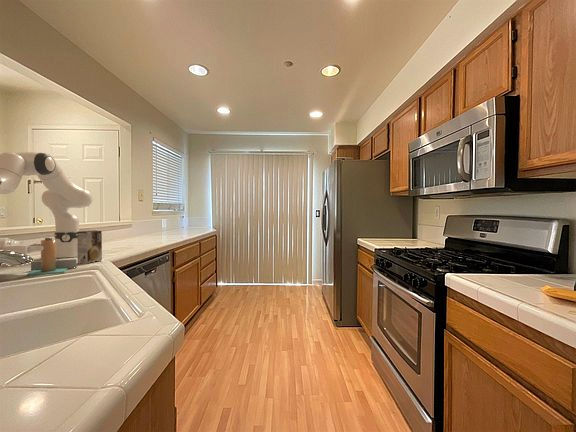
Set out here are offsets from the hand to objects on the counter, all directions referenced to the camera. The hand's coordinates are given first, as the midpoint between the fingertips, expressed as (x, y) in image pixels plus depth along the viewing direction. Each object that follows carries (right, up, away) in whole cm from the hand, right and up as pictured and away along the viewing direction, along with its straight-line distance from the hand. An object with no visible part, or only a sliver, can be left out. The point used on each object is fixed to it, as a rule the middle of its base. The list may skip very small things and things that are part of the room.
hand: (46, 247), depth 128 cm
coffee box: (+1, -11, +27) cm, 29 cm away
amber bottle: (+1, -10, +1) cm, 10 cm away
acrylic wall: (-2, -11, +7) cm, 13 cm away
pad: (+1, -11, +1) cm, 11 cm away
